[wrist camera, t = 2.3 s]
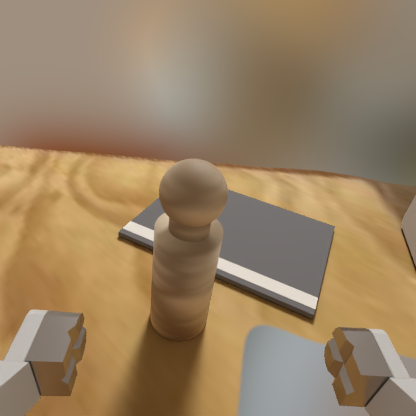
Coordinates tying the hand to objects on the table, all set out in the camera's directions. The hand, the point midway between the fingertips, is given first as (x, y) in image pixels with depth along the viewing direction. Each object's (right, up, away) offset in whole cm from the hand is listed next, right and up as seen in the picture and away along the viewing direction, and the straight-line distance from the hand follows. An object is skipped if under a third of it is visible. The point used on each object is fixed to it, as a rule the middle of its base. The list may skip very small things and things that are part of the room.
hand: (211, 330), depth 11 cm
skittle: (-3, -6, +19) cm, 20 cm away
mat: (+3, +1, +30) cm, 30 cm away
